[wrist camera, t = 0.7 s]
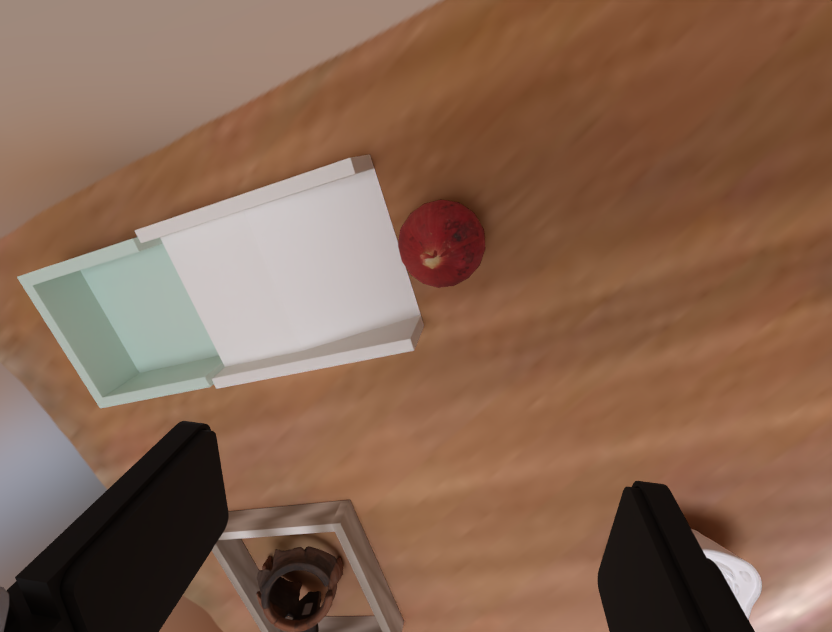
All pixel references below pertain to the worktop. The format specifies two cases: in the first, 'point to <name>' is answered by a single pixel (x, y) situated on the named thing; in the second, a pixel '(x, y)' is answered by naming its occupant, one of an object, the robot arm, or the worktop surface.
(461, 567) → the worktop surface
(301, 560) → the pottery mug
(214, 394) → the worktop surface
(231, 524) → the mug stand
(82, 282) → the tray
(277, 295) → the white piece
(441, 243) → the red round fruit
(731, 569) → the cell model
